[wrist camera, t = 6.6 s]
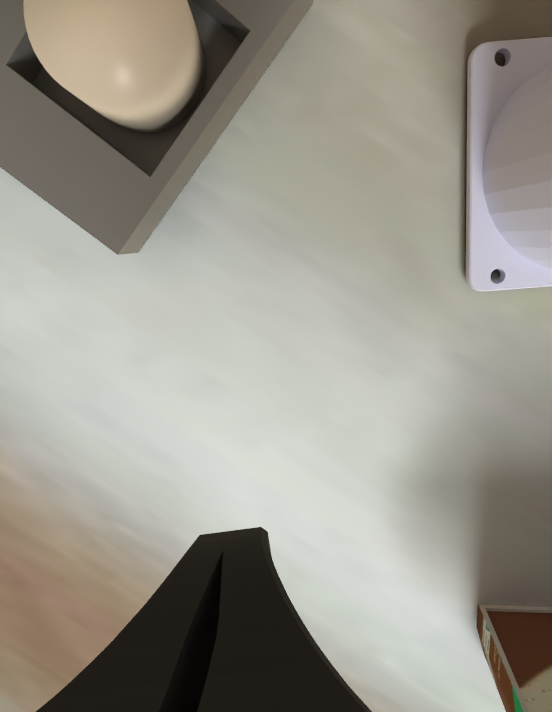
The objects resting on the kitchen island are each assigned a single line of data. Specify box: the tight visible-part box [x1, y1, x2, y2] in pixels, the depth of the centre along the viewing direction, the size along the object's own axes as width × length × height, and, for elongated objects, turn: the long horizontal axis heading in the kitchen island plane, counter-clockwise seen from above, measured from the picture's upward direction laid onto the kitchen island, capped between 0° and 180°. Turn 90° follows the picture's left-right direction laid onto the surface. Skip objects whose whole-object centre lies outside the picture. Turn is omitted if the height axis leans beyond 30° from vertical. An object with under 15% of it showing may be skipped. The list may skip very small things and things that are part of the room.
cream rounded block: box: [23, 0, 206, 133], centre depth 14 cm, size 4×4×4 cm
